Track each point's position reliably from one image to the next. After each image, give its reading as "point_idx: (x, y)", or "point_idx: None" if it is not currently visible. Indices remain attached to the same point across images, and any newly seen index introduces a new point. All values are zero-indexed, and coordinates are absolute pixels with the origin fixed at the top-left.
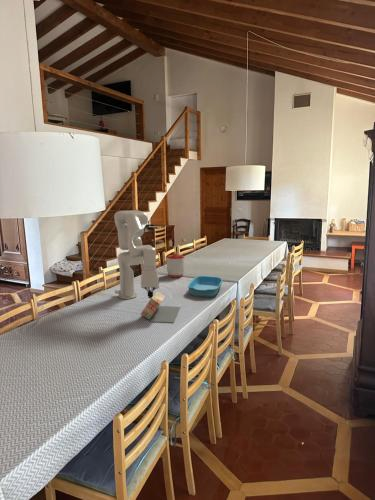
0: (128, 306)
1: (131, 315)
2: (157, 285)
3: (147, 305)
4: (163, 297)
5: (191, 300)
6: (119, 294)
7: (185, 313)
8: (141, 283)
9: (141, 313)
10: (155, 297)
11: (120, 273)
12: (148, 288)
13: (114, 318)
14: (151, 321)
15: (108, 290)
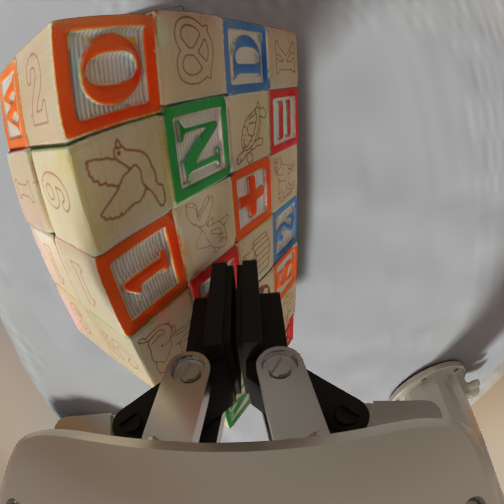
0: (431, 290)
1: (396, 126)
2: (13, 461)
3: (194, 20)
4: (70, 310)
5: (110, 401)
6: (463, 379)
7: (24, 255)
8: (492, 490)
9: (287, 32)
10: (47, 172)
11: (493, 468)
12: (267, 417)
13: (487, 65)
14: (164, 9)
15: (479, 395)
